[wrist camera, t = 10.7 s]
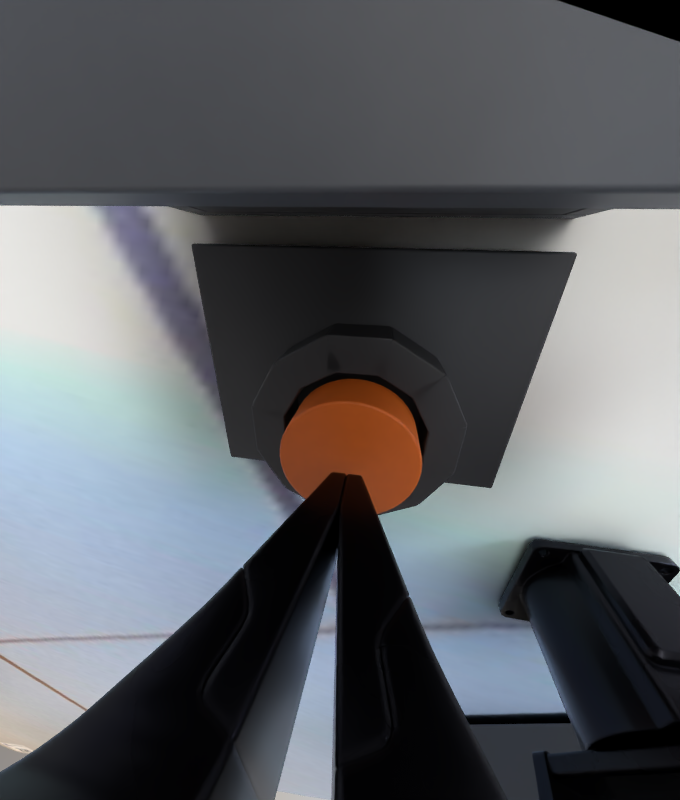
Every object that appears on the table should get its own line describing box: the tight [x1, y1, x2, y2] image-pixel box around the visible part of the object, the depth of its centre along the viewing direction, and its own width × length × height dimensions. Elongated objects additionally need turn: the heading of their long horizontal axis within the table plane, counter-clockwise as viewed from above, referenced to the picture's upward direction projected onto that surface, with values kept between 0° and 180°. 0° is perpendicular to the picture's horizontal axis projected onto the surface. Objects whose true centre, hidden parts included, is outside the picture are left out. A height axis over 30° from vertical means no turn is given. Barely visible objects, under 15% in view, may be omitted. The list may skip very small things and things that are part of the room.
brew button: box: [280, 379, 422, 514], centre depth 9 cm, size 4×4×2 cm
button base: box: [192, 244, 577, 515], centre depth 10 cm, size 10×12×3 cm
